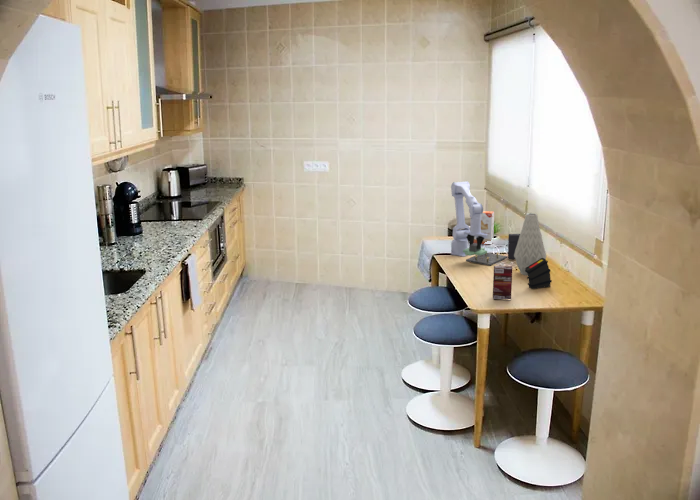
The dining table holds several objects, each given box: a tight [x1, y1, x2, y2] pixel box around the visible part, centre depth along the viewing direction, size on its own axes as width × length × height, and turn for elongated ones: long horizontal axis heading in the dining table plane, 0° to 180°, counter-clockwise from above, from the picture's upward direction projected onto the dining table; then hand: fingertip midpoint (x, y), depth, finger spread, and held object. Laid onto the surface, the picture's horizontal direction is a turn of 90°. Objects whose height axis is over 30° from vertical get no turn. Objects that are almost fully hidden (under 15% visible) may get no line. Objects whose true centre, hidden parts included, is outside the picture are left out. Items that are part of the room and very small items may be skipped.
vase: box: [514, 212, 547, 277], centre depth 330 cm, size 17×17×33 cm
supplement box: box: [492, 265, 513, 300], centre depth 296 cm, size 9×5×16 cm, turn 80°
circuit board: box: [463, 243, 488, 257], centre depth 352 cm, size 12×15×5 cm
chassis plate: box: [465, 252, 508, 267], centre depth 362 cm, size 16×20×4 cm
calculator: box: [507, 233, 520, 261], centre depth 359 cm, size 11×4×15 cm, turn 84°
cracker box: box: [469, 210, 495, 245], centre depth 396 cm, size 14×6×21 cm, turn 62°
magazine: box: [525, 258, 552, 290], centre depth 310 cm, size 4×13×15 cm, turn 105°
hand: (475, 248), depth 353 cm, fingers closed on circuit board, 4 cm apart
